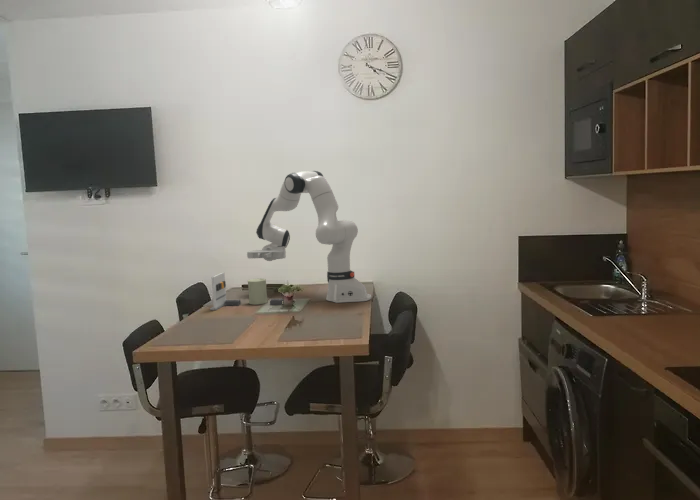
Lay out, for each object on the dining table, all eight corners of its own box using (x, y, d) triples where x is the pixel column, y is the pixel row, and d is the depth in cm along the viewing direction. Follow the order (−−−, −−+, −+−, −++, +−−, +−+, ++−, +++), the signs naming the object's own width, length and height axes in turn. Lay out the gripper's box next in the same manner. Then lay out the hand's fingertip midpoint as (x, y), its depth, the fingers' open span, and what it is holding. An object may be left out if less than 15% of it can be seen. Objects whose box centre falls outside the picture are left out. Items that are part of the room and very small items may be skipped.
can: (266, 304, 288) (264, 280, 287) (247, 304, 289) (245, 281, 287) (268, 300, 297) (267, 277, 296) (250, 301, 298) (249, 277, 296)
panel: (228, 303, 293) (226, 272, 291) (218, 310, 279) (215, 277, 278) (220, 304, 294) (218, 272, 292) (210, 310, 280) (207, 277, 278)
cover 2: (283, 303, 287) (283, 298, 287) (282, 304, 285) (281, 299, 284) (271, 303, 288) (271, 298, 288) (270, 305, 285) (269, 299, 285)
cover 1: (240, 304, 291) (240, 299, 290) (238, 305, 288) (238, 300, 287) (227, 304, 292) (226, 299, 291) (225, 305, 289) (224, 300, 289)
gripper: (251, 247, 317) (242, 250, 304) (287, 246, 314) (281, 249, 300) (251, 258, 318) (243, 262, 304) (288, 257, 315) (281, 261, 301)
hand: (262, 256), depth 302 cm, fingers open, 2 cm apart
